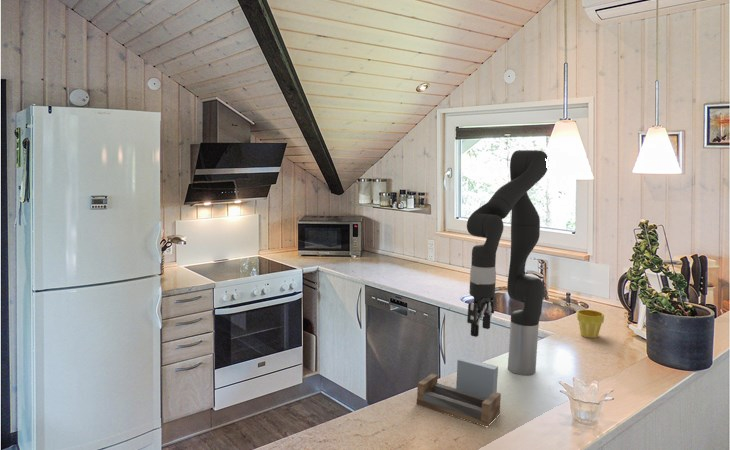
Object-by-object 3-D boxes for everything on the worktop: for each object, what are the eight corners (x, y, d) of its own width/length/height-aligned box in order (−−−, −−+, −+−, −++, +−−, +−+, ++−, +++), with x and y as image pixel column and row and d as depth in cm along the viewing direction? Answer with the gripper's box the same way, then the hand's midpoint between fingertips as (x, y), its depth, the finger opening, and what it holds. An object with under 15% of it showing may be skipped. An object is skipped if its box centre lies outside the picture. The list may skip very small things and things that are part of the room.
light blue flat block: (460, 387, 166) (461, 356, 165) (496, 397, 159) (498, 366, 158) (456, 390, 164) (457, 359, 162) (492, 401, 157) (494, 369, 155)
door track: (431, 393, 161) (432, 373, 160) (499, 415, 148) (501, 393, 147) (416, 404, 154) (417, 383, 153) (487, 427, 141) (488, 405, 140)
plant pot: (570, 332, 222) (572, 309, 220) (591, 330, 224) (592, 308, 223) (586, 340, 212) (588, 317, 210) (608, 338, 214) (610, 315, 213)
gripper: (480, 273, 164) (478, 323, 166) (460, 282, 152) (458, 336, 155) (503, 277, 159) (501, 328, 162) (484, 286, 148) (482, 341, 150)
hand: (480, 332), depth 158 cm, fingers open, 8 cm apart
